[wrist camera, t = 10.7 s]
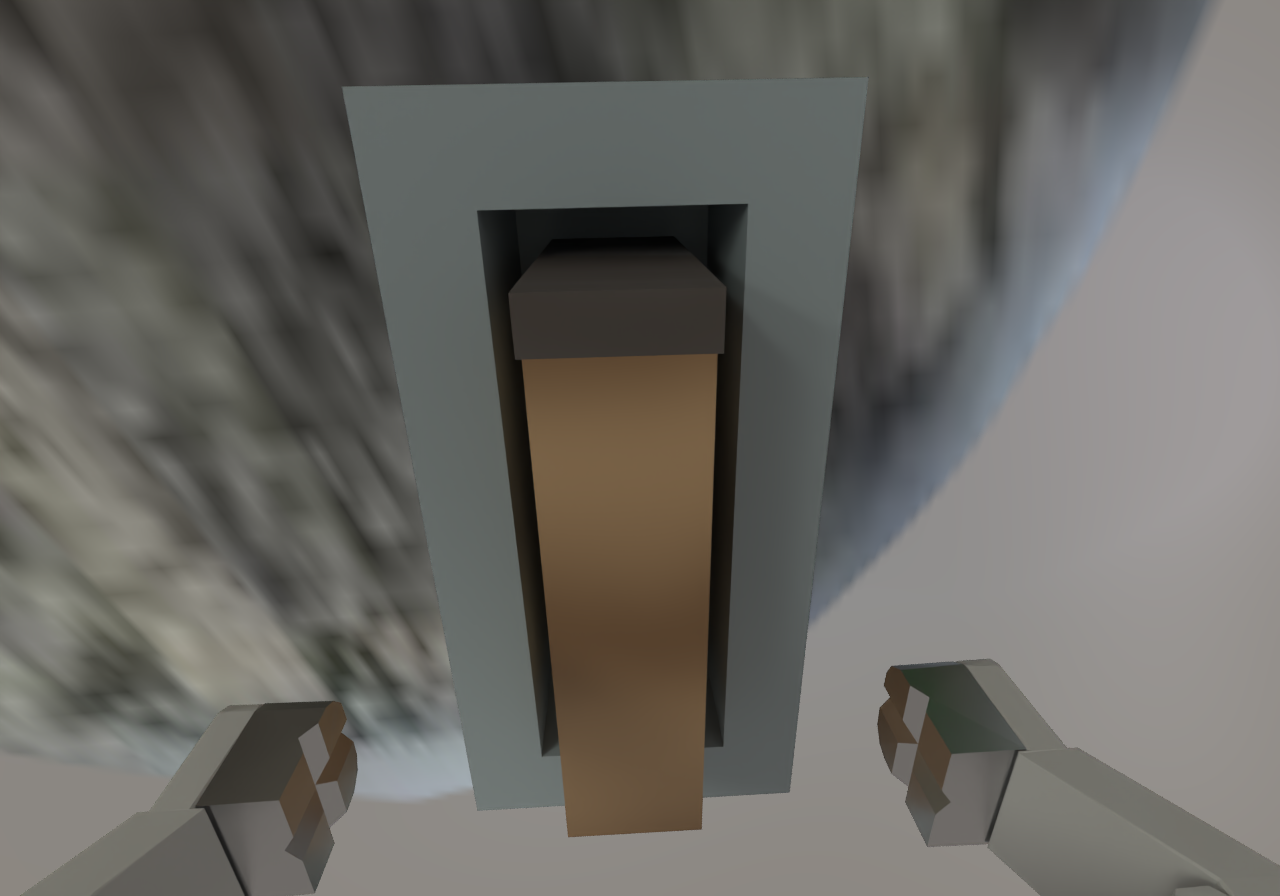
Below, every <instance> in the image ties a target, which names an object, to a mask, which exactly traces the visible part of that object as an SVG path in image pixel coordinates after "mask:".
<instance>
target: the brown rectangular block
mask: <svg viewBox="0 0 1280 896" xmlns="http://www.w3.org/2000/svg"><path fill="white" fill-rule="evenodd" d="M726 289H727V287H726V286H725V285H724V284H723V283H722V282H721V281H720V280H718V279H717V278H716V277H715V276H714V275H713V274H712V273H711V272H710V271H709V270H708V269H707V268H706V267H705V266H704V265H703V264H702V263H701V262H700V261H699V260H698V259H697V258H696V257H695V256H694V255H693V254H692V253H691V252H690V251H689V250H688V249H687V248H686V247H685V246H683V245H682V244H681V243H680V242H679V241H678V240H677V239H676V238H675V237H674V236H659V237H616V238H572V239H552V240H551V241H550V243H549V244H548V245H547V246H546V247H545V249H544V250H543V251H542V252H541V254H540V255H539V256H538V257H537V258H536V260H535V261H534V262H533V263H532V265H531V266H530V267H529V268H528V269H527V271H526V272H525V273H524V274H523V276H522V277H521V278H520V279H519V280H518V282H517V283H516V284H515V285H514V287H513V288H512V289H511V290H510V291H509V293H508V296H509V306H510V316H511V325H512V335H513V345H514V355H515V360H522V369H523V379H524V389H525V400H526V410H527V420H528V430H529V441H530V451H531V461H532V471H533V482H534V492H535V502H536V512H537V523H538V533H539V543H540V553H541V564H542V574H543V584H544V594H545V605H546V615H547V625H548V635H549V646H550V656H551V666H552V676H553V687H554V697H555V707H556V717H557V728H558V738H559V748H560V758H561V769H562V779H563V789H564V799H565V809H566V820H567V829H568V837H579V836H595V835H614V834H631V833H647V832H665V831H683V830H699V829H702V802H703V773H704V743H705V713H706V684H707V654H708V624H709V595H710V565H711V535H712V505H713V476H714V446H715V416H716V387H717V357H718V354H724V342H725V316H726Z"/></svg>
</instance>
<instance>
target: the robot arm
mask: <svg viewBox="0 0 1280 896" xmlns="http://www.w3.org/2000/svg"><path fill="white" fill-rule="evenodd" d="M884 686H885V688H886V690H887V692H888V694H889V696H890V698H889V699H888V700H887V701H886V702H885V703H884V704H883V705H882V706H881V707H880V710H879V717H878V724H877V725H878V733H879V741H880V746H881V749H882V752H883V755H884V758H885V760H886V763H887V764H888V767H889V769H890V771H891V773H892V774H893V775H894V776H895V777H897V778H898V779H899V780H900V781H902V782H903V783H904V784H906V785H907V786H908V791H907V796H906V801H905V802H906V805H907V806H908V809H909V810H910V813H911V815H912V817H913V819H914V821H915V823H916V825H917V827H918V829H919V831H920V833H921V835H922V837H923V839H924V841H925V843H926V845H927V847H934V846H956V845H978V844H988V848H989V849H990V850H991V851H992V852H993V853H994V854H995V855H996V856H997V857H999V858H1000V859H1001V860H1002V861H1003V862H1004V863H1005V864H1006V865H1007V866H1009V867H1010V868H1011V869H1012V870H1013V871H1014V872H1015V873H1017V875H1018V876H1020V877H1021V878H1022V879H1023V880H1024V881H1025V882H1026V883H1027V884H1028V885H1030V886H1031V887H1032V888H1033V889H1034V890H1035V891H1036V892H1037V893H1038V894H1040V895H1041V896H1280V866H1279V865H1277V864H1276V863H1274V862H1272V861H1271V860H1269V859H1267V858H1265V857H1264V856H1262V855H1260V854H1259V853H1257V852H1255V851H1253V850H1252V849H1250V848H1248V847H1247V846H1245V845H1243V844H1241V843H1240V842H1238V841H1236V840H1235V839H1233V838H1231V837H1230V836H1228V835H1226V834H1224V833H1223V832H1221V831H1219V830H1218V829H1216V828H1214V827H1212V826H1211V825H1209V824H1207V823H1206V822H1204V821H1202V820H1200V819H1199V818H1197V817H1195V816H1194V815H1192V814H1190V813H1188V812H1187V811H1185V810H1183V809H1182V808H1180V807H1178V806H1176V805H1175V804H1173V803H1171V802H1170V801H1168V800H1166V799H1164V798H1163V797H1161V796H1159V795H1158V794H1156V793H1154V792H1153V791H1151V790H1149V789H1147V788H1146V787H1144V786H1142V785H1141V784H1139V783H1137V782H1135V781H1134V780H1132V779H1130V778H1129V777H1127V776H1125V775H1123V774H1122V773H1120V772H1118V771H1116V770H1115V769H1113V768H1111V767H1110V766H1108V765H1106V764H1104V763H1103V762H1101V761H1099V760H1098V759H1096V758H1094V757H1093V756H1091V755H1089V754H1087V753H1086V752H1084V751H1082V750H1081V749H1079V748H1067V747H1066V746H1065V745H1064V744H1063V743H1062V741H1061V740H1060V739H1059V738H1058V736H1057V735H1056V734H1055V733H1054V732H1053V730H1052V729H1051V728H1050V727H1049V726H1048V724H1047V723H1046V722H1045V721H1044V719H1043V718H1042V717H1041V716H1040V715H1039V713H1038V712H1037V711H1036V709H1035V708H1034V707H1033V706H1032V705H1031V703H1030V702H1029V701H1028V700H1027V698H1026V697H1025V696H1024V695H1023V693H1022V692H1021V691H1020V690H1019V689H1018V687H1017V686H1016V685H1015V684H1014V682H1013V681H1012V680H1011V679H1010V678H1009V677H1008V675H1007V674H1006V673H1005V671H1004V670H1003V669H1002V668H1001V666H1000V665H999V664H998V663H996V662H994V661H993V660H991V659H980V660H967V661H957V662H939V663H925V664H911V665H898V666H891V667H890V669H889V670H888V672H887V673H886V678H885V683H884ZM346 720H347V719H346V716H345V713H344V710H343V707H342V705H341V703H340V702H335V701H319V702H292V703H265V704H257V705H229V706H228V707H226V708H225V709H223V710H222V711H220V712H219V713H218V714H217V715H216V717H215V718H214V719H213V721H212V722H211V724H210V725H209V727H208V728H207V729H206V731H205V732H204V734H203V735H202V737H201V738H200V739H199V741H198V742H197V744H196V745H195V747H194V748H193V749H192V751H191V752H190V754H189V755H188V757H187V758H186V759H185V761H184V762H183V764H182V765H181V767H180V768H179V769H178V771H177V772H176V774H175V775H174V777H173V778H172V779H171V781H170V782H169V784H168V785H167V787H166V788H165V790H164V791H163V792H162V794H161V795H160V797H159V798H158V799H157V801H156V802H155V804H154V805H153V807H152V808H151V809H150V811H149V812H138V813H136V814H134V815H133V816H132V817H130V818H129V819H127V820H126V821H125V822H123V823H122V824H120V825H119V826H117V827H116V828H115V829H113V830H112V831H110V832H109V833H108V834H106V835H105V836H103V837H102V838H101V839H99V840H98V841H96V842H95V843H94V844H92V845H91V846H89V847H88V848H87V849H85V850H84V851H82V852H81V853H79V854H78V855H77V856H75V857H74V858H72V859H71V860H70V861H68V862H67V863H65V864H64V865H63V866H61V867H60V868H58V869H57V870H56V871H54V872H53V873H52V874H50V875H48V876H47V877H46V878H44V879H43V880H41V881H40V882H39V883H37V884H36V885H34V886H33V887H32V888H30V889H29V890H27V891H26V892H25V893H23V894H22V895H20V896H294V895H304V894H313V893H315V891H316V889H317V886H318V884H319V881H320V879H321V876H322V874H323V871H324V868H325V866H326V863H327V861H328V858H329V856H330V853H331V851H332V848H333V846H334V840H333V837H332V834H331V831H330V827H331V826H332V825H333V824H334V823H335V822H336V821H337V820H338V819H340V818H341V817H342V816H343V815H344V814H345V813H346V812H347V810H348V807H349V804H350V802H351V799H352V796H353V793H354V789H355V783H356V777H357V771H358V768H357V753H356V750H355V746H354V742H353V741H352V740H350V739H349V738H348V737H346V736H345V735H344V734H342V733H341V731H342V729H343V727H344V725H345V722H346Z"/></svg>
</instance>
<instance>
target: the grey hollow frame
mask: <svg viewBox="0 0 1280 896" xmlns="http://www.w3.org/2000/svg"><path fill="white" fill-rule="evenodd" d="M868 78H869V77H846V78H791V79H736V80H681V81H626V82H571V83H515V84H460V85H405V86H350V87H342V90H343V95H344V100H345V106H346V111H347V116H348V122H349V127H350V132H351V138H352V143H353V149H354V154H355V159H356V165H357V170H358V175H359V181H360V186H361V191H362V197H363V202H364V207H365V213H366V218H367V223H368V229H369V234H370V239H371V245H372V250H373V255H374V261H375V266H376V271H377V277H378V282H379V287H380V293H381V298H382V303H383V309H384V314H385V319H386V325H387V330H388V335H389V341H390V346H391V351H392V357H393V362H394V367H395V373H396V378H397V383H398V389H399V394H400V399H401V405H402V410H403V415H404V421H405V426H406V431H407V437H408V442H409V447H410V453H411V458H412V464H413V469H414V474H415V480H416V485H417V490H418V496H419V501H420V506H421V512H422V517H423V522H424V528H425V533H426V538H427V544H428V549H429V554H430V560H431V565H432V570H433V576H434V581H435V586H436V592H437V597H438V602H439V608H440V613H441V618H442V624H443V629H444V634H445V640H446V645H447V650H448V656H449V661H450V666H451V672H452V677H453V682H454V688H455V693H456V698H457V704H458V709H459V714H460V720H461V725H462V730H463V736H464V741H465V746H466V752H467V757H468V762H469V768H470V773H471V779H472V784H473V789H474V795H475V799H476V805H477V810H478V811H480V810H497V809H515V808H532V807H549V806H565V799H564V789H563V779H562V769H561V758H560V748H559V738H558V728H557V717H556V707H555V697H554V687H553V676H552V666H551V656H550V646H549V635H548V625H547V615H546V605H545V594H544V584H543V574H542V564H541V553H540V543H539V533H538V523H537V512H536V502H535V492H534V482H533V471H532V461H531V451H530V441H529V430H528V420H527V410H526V400H525V389H524V379H523V369H522V360H515V355H514V345H513V335H512V325H511V316H510V306H509V296H508V293H509V291H510V290H511V289H512V288H513V287H514V285H515V284H516V283H517V282H518V280H519V279H520V278H521V277H522V276H523V274H524V273H525V272H526V271H527V269H528V268H529V267H530V266H531V265H532V263H533V262H534V261H535V260H536V258H537V257H538V256H539V255H540V254H541V252H542V251H543V250H544V249H545V247H546V246H547V245H548V244H549V243H550V241H551V240H552V239H572V238H616V237H659V236H674V237H675V238H676V239H677V240H678V241H679V242H680V243H681V244H682V245H683V246H685V247H686V248H687V249H688V250H689V251H690V252H691V253H692V254H693V255H694V256H695V257H696V258H697V259H698V260H699V261H700V262H701V263H702V264H703V265H704V266H705V267H706V268H707V269H708V270H709V271H710V272H711V273H712V274H713V275H714V276H715V277H716V278H717V279H718V280H720V281H721V282H722V283H723V284H724V285H725V286H726V287H727V289H726V316H725V342H724V354H718V357H717V387H716V416H715V446H714V476H713V505H712V535H711V565H710V595H709V624H708V654H707V684H706V713H705V743H704V773H703V797H720V796H737V795H754V794H769V793H788V792H790V784H791V775H792V766H793V757H794V748H795V739H796V730H797V721H798V712H799V703H800V693H801V684H802V675H803V666H804V657H805V648H806V639H807V630H808V621H809V612H810V603H811V594H812V585H813V576H814V567H815V558H816V549H817V540H818V531H819V522H820V512H821V503H822V494H823V485H824V476H825V467H826V458H827V449H828V440H829V431H830V422H831V413H832V404H833V395H834V386H835V377H836V368H837V359H838V349H839V340H840V331H841V322H842V313H843V304H844V295H845V286H846V277H847V268H848V259H849V250H850V241H851V232H852V223H853V214H854V205H855V196H856V187H857V177H858V168H859V159H860V150H861V141H862V132H863V123H864V114H865V105H866V96H867V87H868Z"/></svg>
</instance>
